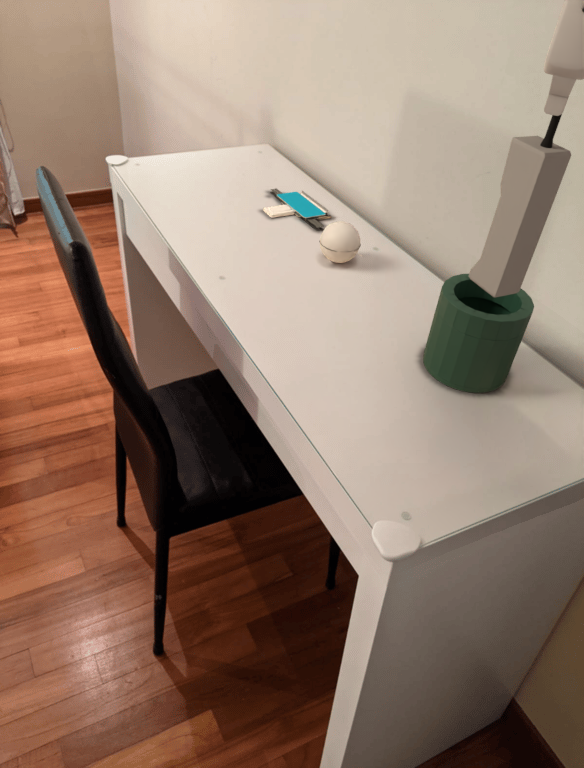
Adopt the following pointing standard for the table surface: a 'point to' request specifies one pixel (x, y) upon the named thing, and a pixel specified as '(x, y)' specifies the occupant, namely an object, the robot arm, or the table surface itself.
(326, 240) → the cream domed seamed part
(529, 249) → the vintage mobile phone
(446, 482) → the table surface
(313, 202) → the phone stand
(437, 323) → the green hollow cylinder
